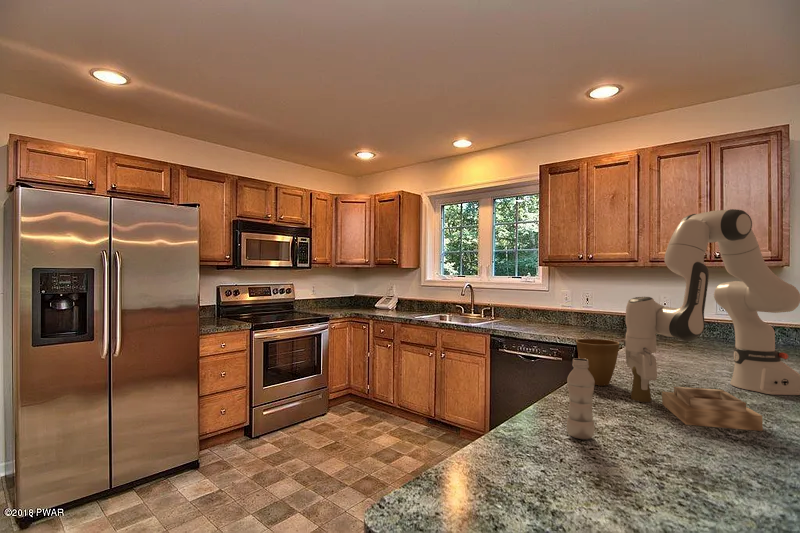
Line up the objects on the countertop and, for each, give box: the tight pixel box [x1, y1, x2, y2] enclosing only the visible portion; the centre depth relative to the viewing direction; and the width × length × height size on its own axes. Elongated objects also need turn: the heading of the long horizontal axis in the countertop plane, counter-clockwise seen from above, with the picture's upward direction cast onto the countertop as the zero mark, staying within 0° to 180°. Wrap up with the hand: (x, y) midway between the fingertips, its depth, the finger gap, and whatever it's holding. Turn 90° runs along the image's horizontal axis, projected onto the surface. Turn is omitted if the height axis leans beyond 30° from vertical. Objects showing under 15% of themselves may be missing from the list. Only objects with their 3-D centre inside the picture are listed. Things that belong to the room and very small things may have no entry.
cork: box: [630, 366, 652, 403], centre depth 137 cm, size 6×6×11 cm
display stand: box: [661, 386, 764, 432], centre depth 121 cm, size 18×18×6 cm
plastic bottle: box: [566, 357, 596, 440], centre depth 106 cm, size 6×7×20 cm
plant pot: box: [575, 338, 620, 387], centre depth 156 cm, size 15×15×16 cm
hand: (640, 386), depth 137 cm, fingers closed on cork, 5 cm apart
